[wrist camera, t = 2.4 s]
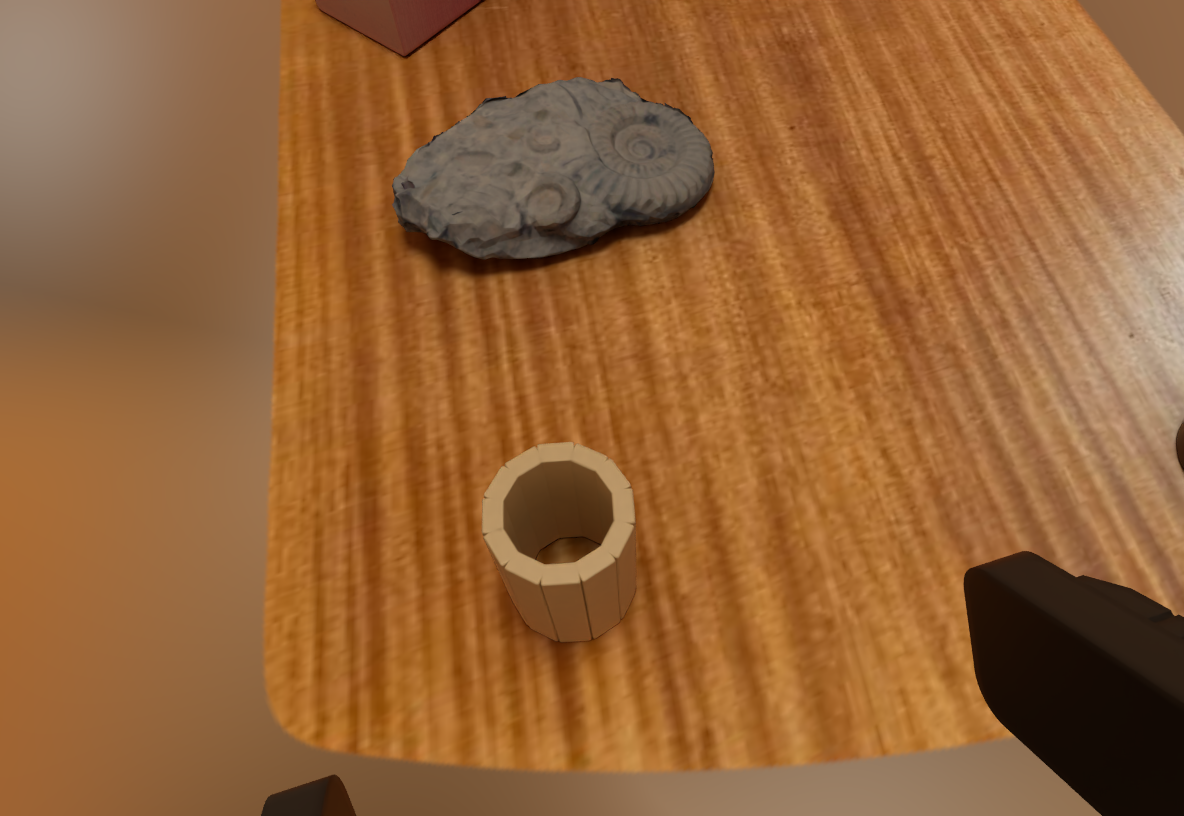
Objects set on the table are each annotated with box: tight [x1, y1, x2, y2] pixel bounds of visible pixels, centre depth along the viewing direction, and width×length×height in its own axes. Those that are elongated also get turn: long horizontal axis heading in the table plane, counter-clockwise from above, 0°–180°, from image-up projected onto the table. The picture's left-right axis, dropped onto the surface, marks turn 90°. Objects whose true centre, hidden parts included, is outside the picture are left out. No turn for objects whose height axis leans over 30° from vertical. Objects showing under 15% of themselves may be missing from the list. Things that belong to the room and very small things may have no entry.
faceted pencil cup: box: [482, 442, 636, 642], centre depth 33 cm, size 6×6×8 cm
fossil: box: [392, 77, 714, 259], centre depth 47 cm, size 13×18×4 cm
